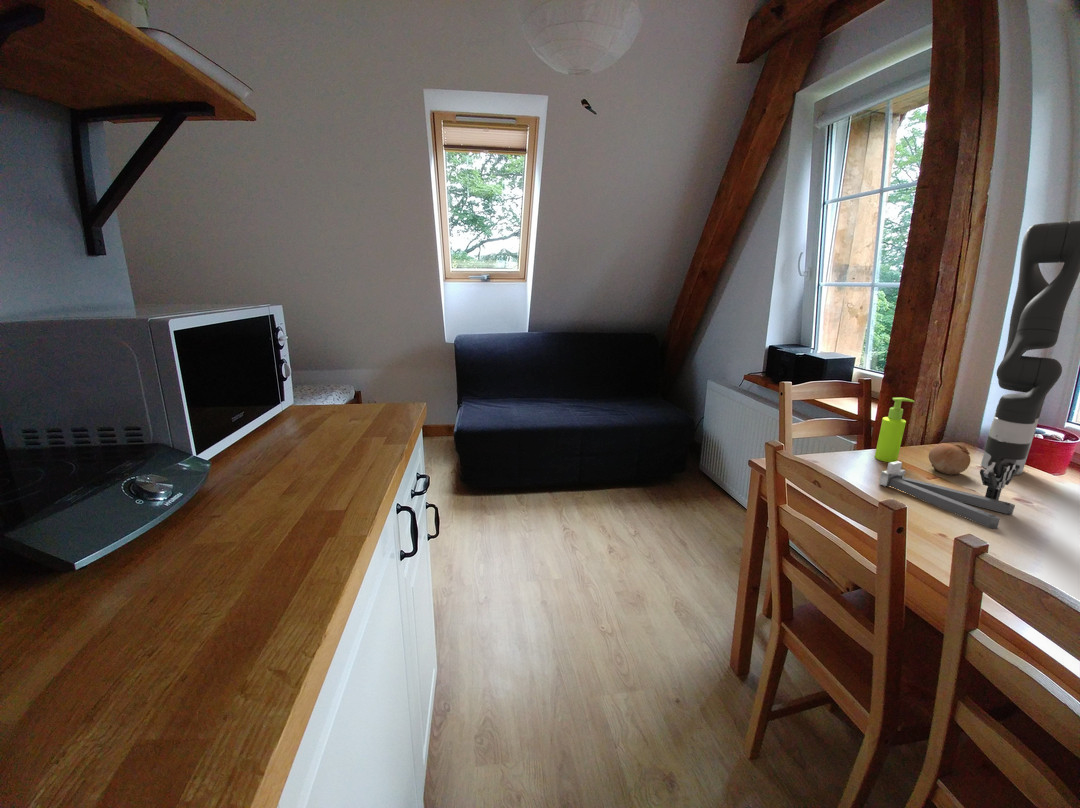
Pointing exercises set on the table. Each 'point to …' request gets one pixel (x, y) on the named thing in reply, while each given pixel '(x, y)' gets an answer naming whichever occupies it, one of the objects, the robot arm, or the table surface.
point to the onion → (949, 458)
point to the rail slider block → (891, 472)
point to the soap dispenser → (891, 433)
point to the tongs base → (946, 503)
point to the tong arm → (965, 497)
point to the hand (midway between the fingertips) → (990, 500)
